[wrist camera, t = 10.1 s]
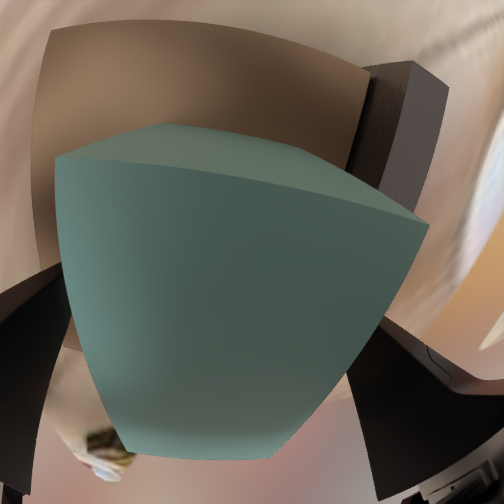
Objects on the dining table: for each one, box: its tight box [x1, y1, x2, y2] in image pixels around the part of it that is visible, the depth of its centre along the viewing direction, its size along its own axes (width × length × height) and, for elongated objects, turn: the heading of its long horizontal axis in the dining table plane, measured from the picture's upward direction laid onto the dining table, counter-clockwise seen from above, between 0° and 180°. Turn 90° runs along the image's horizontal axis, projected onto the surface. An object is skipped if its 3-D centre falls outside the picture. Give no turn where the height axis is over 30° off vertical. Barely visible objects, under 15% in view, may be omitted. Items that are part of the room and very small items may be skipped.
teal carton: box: [55, 123, 430, 460], centre depth 8 cm, size 5×9×7 cm, turn 167°
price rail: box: [344, 61, 449, 213], centre depth 12 cm, size 18×2×4 cm, turn 167°
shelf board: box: [31, 20, 371, 352], centre depth 11 cm, size 17×13×1 cm
